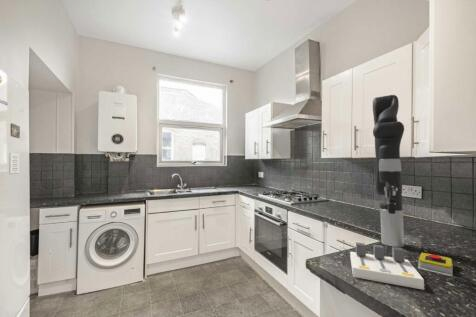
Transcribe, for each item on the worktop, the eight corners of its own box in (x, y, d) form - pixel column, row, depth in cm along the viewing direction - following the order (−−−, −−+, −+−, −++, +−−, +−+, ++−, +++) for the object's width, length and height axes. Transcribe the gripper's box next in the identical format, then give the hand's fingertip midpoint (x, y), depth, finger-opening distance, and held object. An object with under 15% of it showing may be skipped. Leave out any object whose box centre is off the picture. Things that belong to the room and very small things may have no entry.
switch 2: (373, 255, 84) (373, 244, 84) (383, 256, 82) (382, 245, 83) (374, 257, 81) (374, 246, 81) (384, 259, 80) (384, 248, 80)
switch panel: (350, 259, 89) (350, 251, 89) (407, 267, 81) (407, 259, 81) (353, 276, 73) (352, 267, 73) (424, 289, 65) (423, 279, 65)
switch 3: (392, 257, 81) (392, 246, 81) (402, 259, 80) (401, 247, 80) (394, 260, 78) (393, 249, 79) (404, 262, 77) (404, 250, 78)
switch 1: (356, 252, 86) (355, 242, 86) (364, 253, 85) (364, 243, 85) (356, 255, 84) (356, 244, 84) (365, 256, 82) (365, 245, 83)
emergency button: (417, 257, 81) (421, 247, 91) (417, 269, 80) (421, 258, 91) (452, 265, 74) (452, 253, 85) (452, 278, 74) (452, 265, 84)
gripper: (376, 170, 96) (377, 210, 95) (381, 170, 84) (383, 215, 83) (396, 170, 93) (398, 211, 92) (405, 170, 81) (407, 217, 80)
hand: (391, 213), depth 88 cm, fingers closed
